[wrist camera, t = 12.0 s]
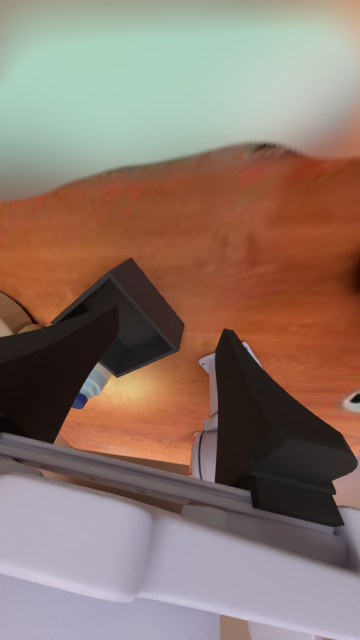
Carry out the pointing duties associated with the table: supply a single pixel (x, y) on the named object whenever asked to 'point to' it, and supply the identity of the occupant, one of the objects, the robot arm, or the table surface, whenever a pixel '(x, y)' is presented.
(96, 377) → the bottle
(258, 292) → the table surface
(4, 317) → the alarm clock
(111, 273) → the bin
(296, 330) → the table surface
